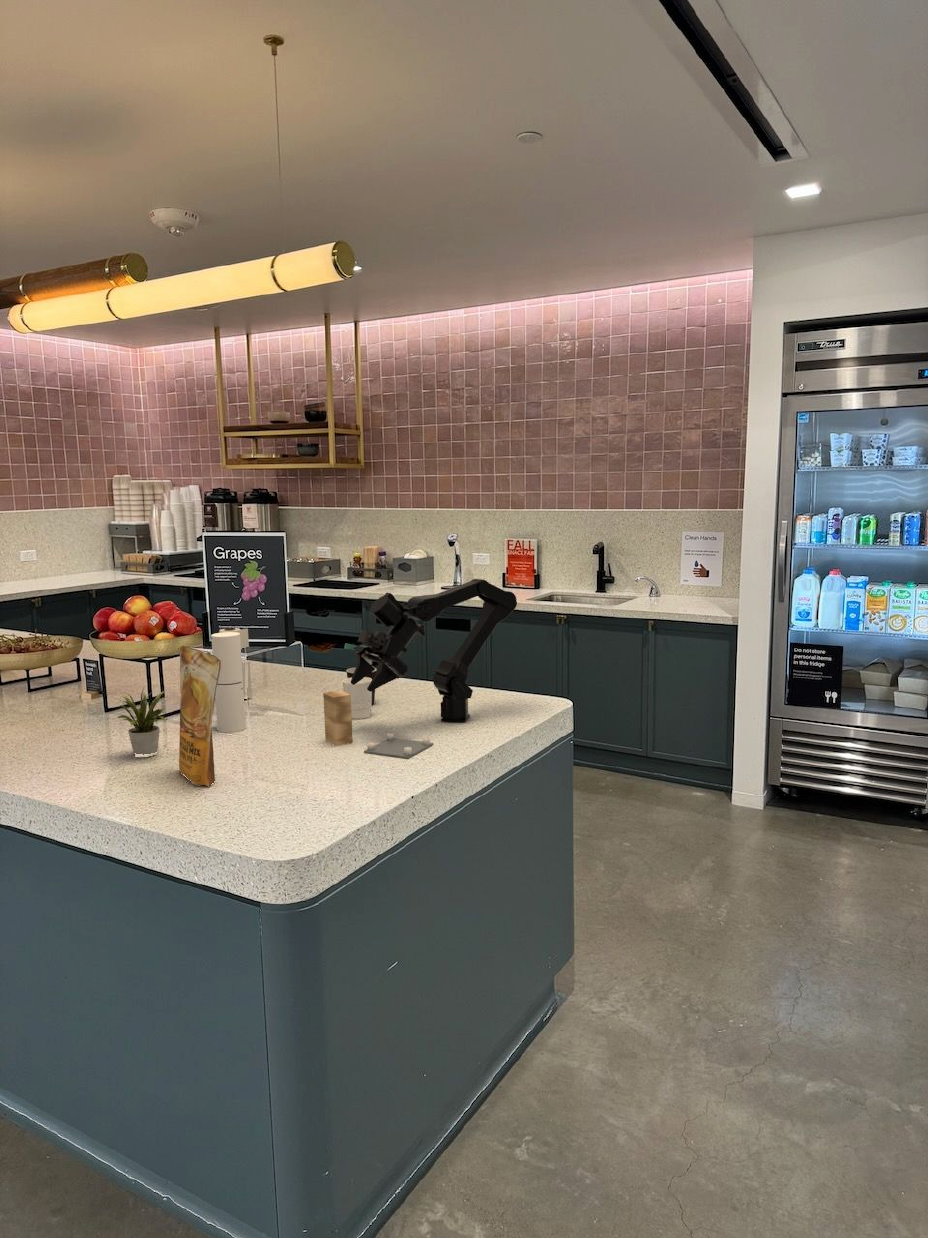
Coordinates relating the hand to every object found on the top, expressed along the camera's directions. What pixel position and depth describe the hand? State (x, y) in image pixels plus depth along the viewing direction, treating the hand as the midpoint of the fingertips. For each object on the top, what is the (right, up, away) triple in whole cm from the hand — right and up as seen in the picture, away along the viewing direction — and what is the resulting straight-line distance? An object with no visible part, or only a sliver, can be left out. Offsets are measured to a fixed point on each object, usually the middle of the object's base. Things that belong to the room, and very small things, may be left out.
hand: (360, 687), depth 223 cm
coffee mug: (-3, -8, +37) cm, 37 cm away
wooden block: (-5, -13, -1) cm, 14 cm away
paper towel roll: (-41, -7, +43) cm, 60 cm away
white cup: (-3, -10, +22) cm, 25 cm away
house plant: (-51, -16, -10) cm, 54 cm away
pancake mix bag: (-32, -18, -26) cm, 45 cm away
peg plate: (+10, -14, -9) cm, 19 cm away
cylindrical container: (-35, -12, +12) cm, 39 cm away
